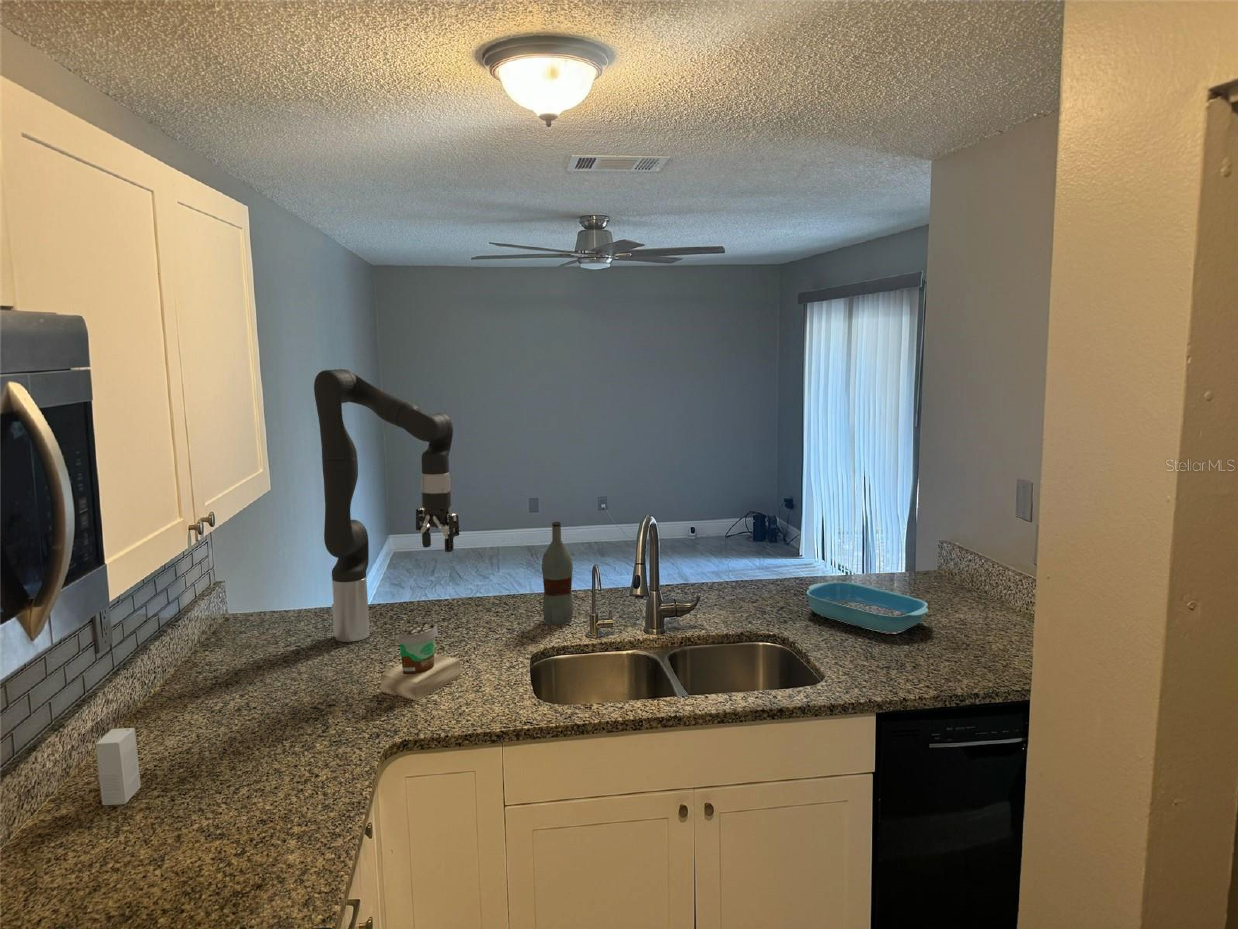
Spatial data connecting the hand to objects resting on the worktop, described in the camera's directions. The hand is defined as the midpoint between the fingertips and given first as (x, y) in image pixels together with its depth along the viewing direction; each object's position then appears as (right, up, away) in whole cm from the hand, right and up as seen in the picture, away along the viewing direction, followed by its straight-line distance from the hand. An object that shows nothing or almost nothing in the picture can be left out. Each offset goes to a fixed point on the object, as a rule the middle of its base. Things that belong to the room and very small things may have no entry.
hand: (437, 549), depth 223 cm
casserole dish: (+122, -24, +27) cm, 127 cm away
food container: (+1, -27, -20) cm, 34 cm away
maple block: (0, -31, -19) cm, 37 cm away
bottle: (+30, -24, +26) cm, 47 cm away
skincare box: (-43, -39, -69) cm, 90 cm away
